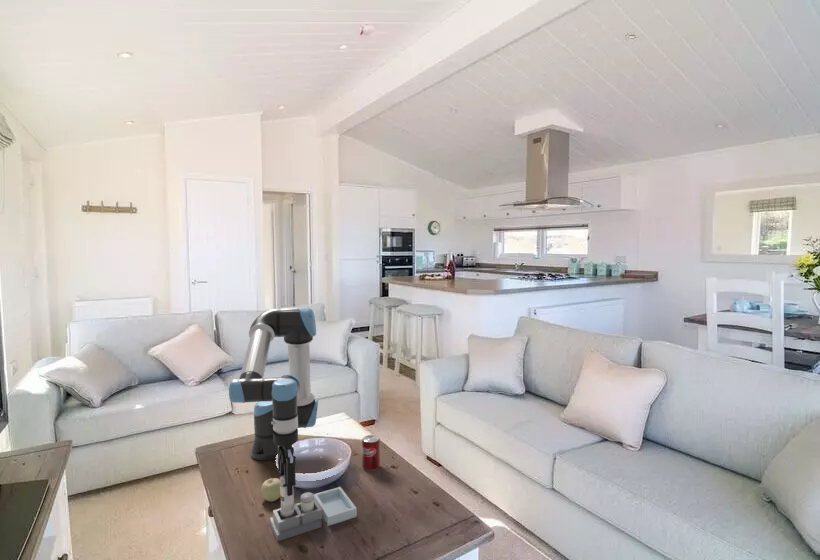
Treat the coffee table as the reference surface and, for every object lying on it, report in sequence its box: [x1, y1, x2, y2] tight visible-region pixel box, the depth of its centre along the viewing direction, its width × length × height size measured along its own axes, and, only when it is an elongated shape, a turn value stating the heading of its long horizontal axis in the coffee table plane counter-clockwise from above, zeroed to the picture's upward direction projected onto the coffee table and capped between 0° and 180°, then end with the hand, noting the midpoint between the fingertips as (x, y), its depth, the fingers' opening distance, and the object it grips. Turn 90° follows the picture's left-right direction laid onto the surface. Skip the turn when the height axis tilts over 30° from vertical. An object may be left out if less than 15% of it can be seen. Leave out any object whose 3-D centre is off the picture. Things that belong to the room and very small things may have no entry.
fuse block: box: [269, 491, 323, 542], centre depth 146 cm, size 10×15×9 cm
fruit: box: [260, 477, 281, 503], centre depth 161 cm, size 8×7×8 cm
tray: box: [313, 486, 358, 527], centre depth 155 cm, size 15×10×3 cm, turn 30°
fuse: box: [279, 475, 295, 518], centre depth 144 cm, size 4×4×12 cm
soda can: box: [361, 434, 381, 472], centre depth 183 cm, size 7×7×12 cm
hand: (287, 499), depth 144 cm, fingers closed on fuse, 4 cm apart
